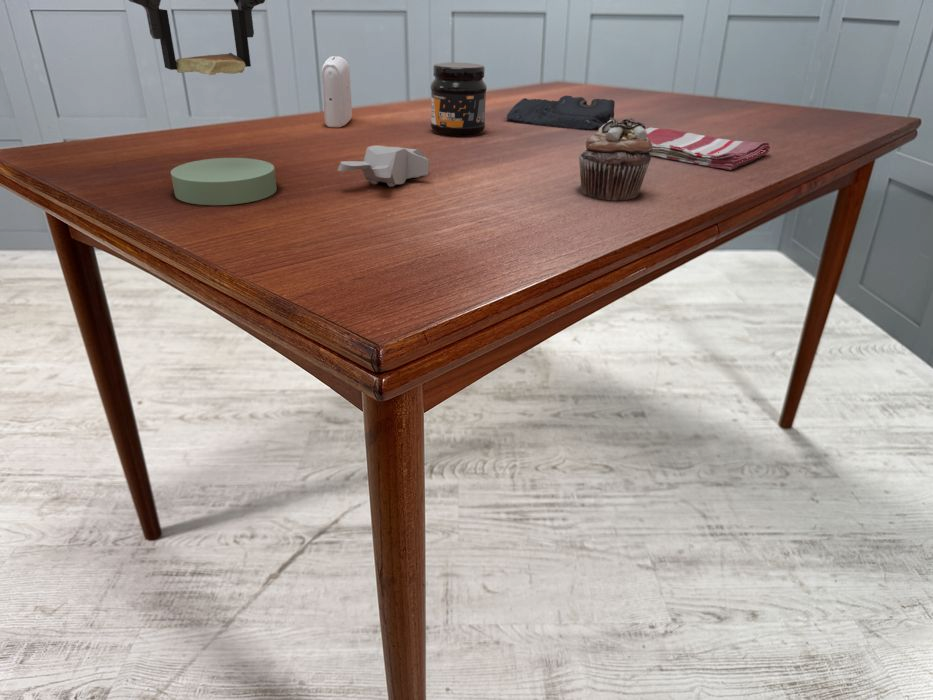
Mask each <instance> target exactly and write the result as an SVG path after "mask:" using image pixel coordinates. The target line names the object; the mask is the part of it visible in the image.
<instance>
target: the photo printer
mask: <svg viewBox="0 0 933 700" xmlns="http://www.w3.org/2000/svg"><path fill="white" fill-rule="evenodd" d="M320 74H321V86H322V101H323V114H324V125H325V126H327V127H328V128H341V127H344V126H346V125H347V124H348V123H349V122H350V121H351V120H352V118H353V108H352V107H353V106H352V105H353V104H352V103H353V102H352V88H351V87H352V86H351V70H350V65H349V63H348V61H347V60H346V59H345V58H343V57H342V56H341V55H337V56H336V55H331V56H330V57H328V58H327V59H326V60H325V61H324V63H323V65H322V67H321V73H320Z"/></svg>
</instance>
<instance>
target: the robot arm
mask: <svg viewBox="0 0 933 700" xmlns="http://www.w3.org/2000/svg"><path fill="white" fill-rule="evenodd" d="M128 1H129V2H131V3H134V4H136V5H139V6H141V7H143V8H144V10H145V13H146V19H147V25H148V30H149V35H150V36H151V38H152V39H153V40H159V42H160V48H161V53H162V59H163V64H164V68H165V69H168V70H170V71H177V65H176V60H177V59H176V54H175V48H174V43H173V42H174V41H173V36H172V31H171V25H170V18H169V12H168V9H163V8H160V5H161V1H162V0H128ZM233 2H234V4H235V5H236V7H237V9H236V8H235V9H234V8H233V9H230V13H231V20H232V21H231V22H232V28H233V34H234V35H233V36H234V43H235V44H234V45H235V51H236V56H238V57H239V58H240V59H242V60H243V61H244V62H245V68H247V67H248V68H249V67H252V64H251V56H250V55H251V54H250V47H249V38H253V37H254V35H255V30H254V22H253V14H252V13H253V12H252V11H253V9H254V7H256V6H259V5H262V4H264V3H265V2H266V0H233Z"/></svg>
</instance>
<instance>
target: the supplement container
mask: <svg viewBox="0 0 933 700" xmlns="http://www.w3.org/2000/svg"><path fill="white" fill-rule="evenodd" d="M432 67H433V73H432V75H433V76H434V79H433V80H432V82H430V90H431V91H430V94H431V96H430V97H431V104H430V105H431V106H430V107H431V109H430V110H431V113H430V114H431V115H430V128H431V130H432V131H433V132H434V133H436V134H439V135H442V136H447V137H474V136H478V135H480V134H482V133H483V132H484V131H485V129H486V123H485V121H486V99H487V98H486V97H487V89H488V87H487V86H488V85H487V84H486V82H485V81H484V78H485V73H486V72H485V69H486V68H485V65H483V64H480V63H474V62H473V63H472V62H439V63H435V64H433V66H432Z"/></svg>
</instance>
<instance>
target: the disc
mask: <svg viewBox="0 0 933 700" xmlns="http://www.w3.org/2000/svg"><path fill="white" fill-rule="evenodd" d="M170 177H171V183H172V188H173V191H174V192H173V193H174V197H175V198H176V199H177V200H179V201H181V202H183V203H186V204H190V205H191V204H192V205H197V206H235V205H242V204H248V203H252V202H257V201H261V200H264V199H267V198H269V197H271V196H273V195H274V194H275V193H276V192H277V190H278V187H277V186H278V185H277V179H276V169H275V166H274V164H272V163H270V162H269V161H265V160H262V159H256V158H248V157H219V158H208V159H207V158H206V159H200V160H194V161H190V162H189V161H188V162H186V163H185V162H184V163H183V164H179V165H176V166H174V168H172V169H171V170H170Z"/></svg>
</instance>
